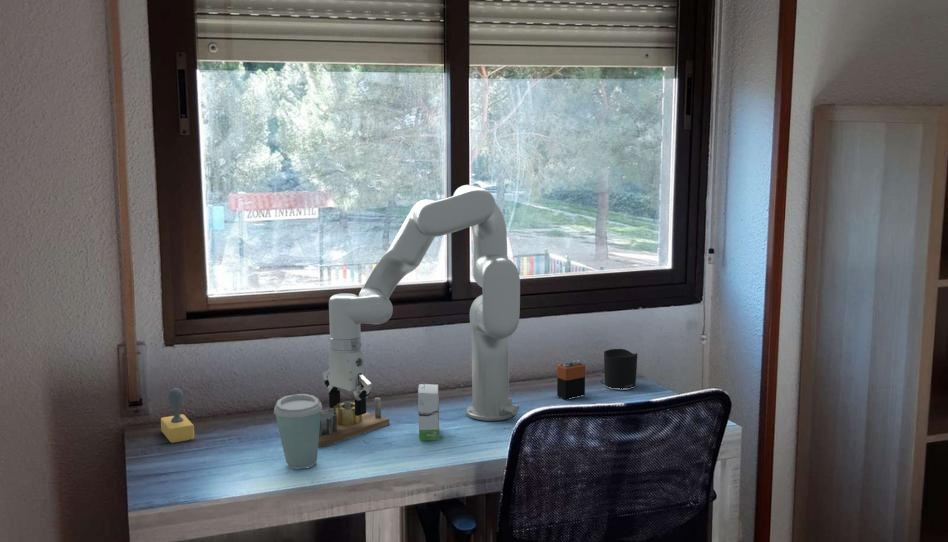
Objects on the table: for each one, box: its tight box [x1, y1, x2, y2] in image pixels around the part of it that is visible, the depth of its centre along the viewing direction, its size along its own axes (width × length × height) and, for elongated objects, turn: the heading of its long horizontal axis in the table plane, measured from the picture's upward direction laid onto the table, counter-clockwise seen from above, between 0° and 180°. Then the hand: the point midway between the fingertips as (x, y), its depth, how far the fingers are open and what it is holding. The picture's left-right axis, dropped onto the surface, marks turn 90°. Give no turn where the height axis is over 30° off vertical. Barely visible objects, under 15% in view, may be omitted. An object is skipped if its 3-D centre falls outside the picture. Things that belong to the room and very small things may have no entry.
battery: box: [556, 359, 586, 400], centre depth 259 cm, size 4×7×10 cm, turn 123°
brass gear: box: [333, 401, 362, 426], centre depth 235 cm, size 7×7×4 cm
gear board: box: [318, 397, 390, 448], centre depth 233 cm, size 13×22×7 cm, turn 139°
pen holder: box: [603, 348, 638, 389], centre depth 268 cm, size 9×9×10 cm
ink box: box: [417, 383, 440, 441], centre depth 229 cm, size 9×5×12 cm, turn 2°
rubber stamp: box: [160, 387, 195, 444], centre depth 230 cm, size 10×6×12 cm, turn 30°
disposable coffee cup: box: [273, 393, 323, 470], centre depth 209 cm, size 11×11×15 cm
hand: (347, 410), depth 235 cm, fingers open, 9 cm apart
